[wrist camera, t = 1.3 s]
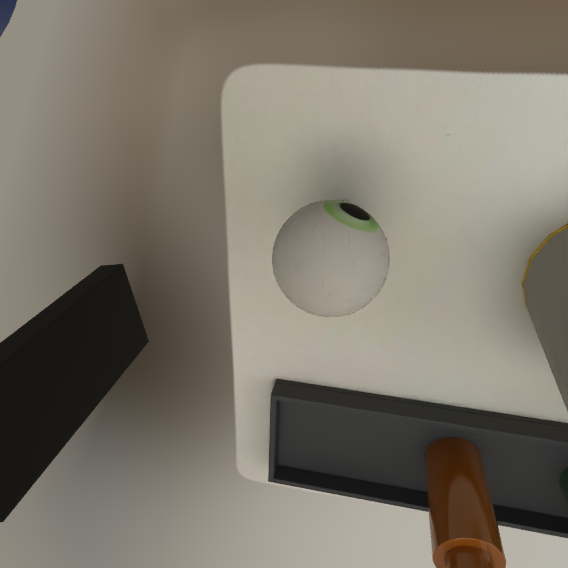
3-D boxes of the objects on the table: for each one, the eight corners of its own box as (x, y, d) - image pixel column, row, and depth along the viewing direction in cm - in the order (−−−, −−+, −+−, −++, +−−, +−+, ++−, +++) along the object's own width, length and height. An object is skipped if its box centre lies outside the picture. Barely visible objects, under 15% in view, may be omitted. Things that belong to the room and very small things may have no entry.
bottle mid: (412, 459, 49) (423, 640, 34) (446, 427, 46) (474, 609, 31) (457, 485, 49) (487, 675, 35) (494, 455, 47) (544, 647, 32)
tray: (273, 463, 54) (268, 481, 52) (276, 378, 48) (270, 395, 46) (627, 528, 48) (639, 552, 46) (677, 440, 43) (694, 462, 40)
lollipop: (404, 182, 37) (414, 257, 24) (366, 256, 41) (355, 358, 28) (322, 146, 37) (286, 201, 24) (290, 224, 41) (243, 310, 28)
